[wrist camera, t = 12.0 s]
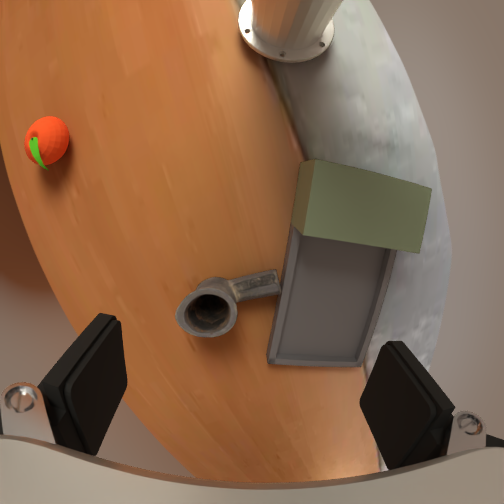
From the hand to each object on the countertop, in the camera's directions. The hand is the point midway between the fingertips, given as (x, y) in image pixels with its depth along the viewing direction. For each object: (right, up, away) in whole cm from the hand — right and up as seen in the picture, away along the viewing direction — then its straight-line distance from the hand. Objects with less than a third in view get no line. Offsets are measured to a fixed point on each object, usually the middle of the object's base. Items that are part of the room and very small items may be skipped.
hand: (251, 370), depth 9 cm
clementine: (-28, +20, +25) cm, 42 cm away
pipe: (-3, 0, +31) cm, 31 cm away
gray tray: (+12, +1, +31) cm, 33 cm away
